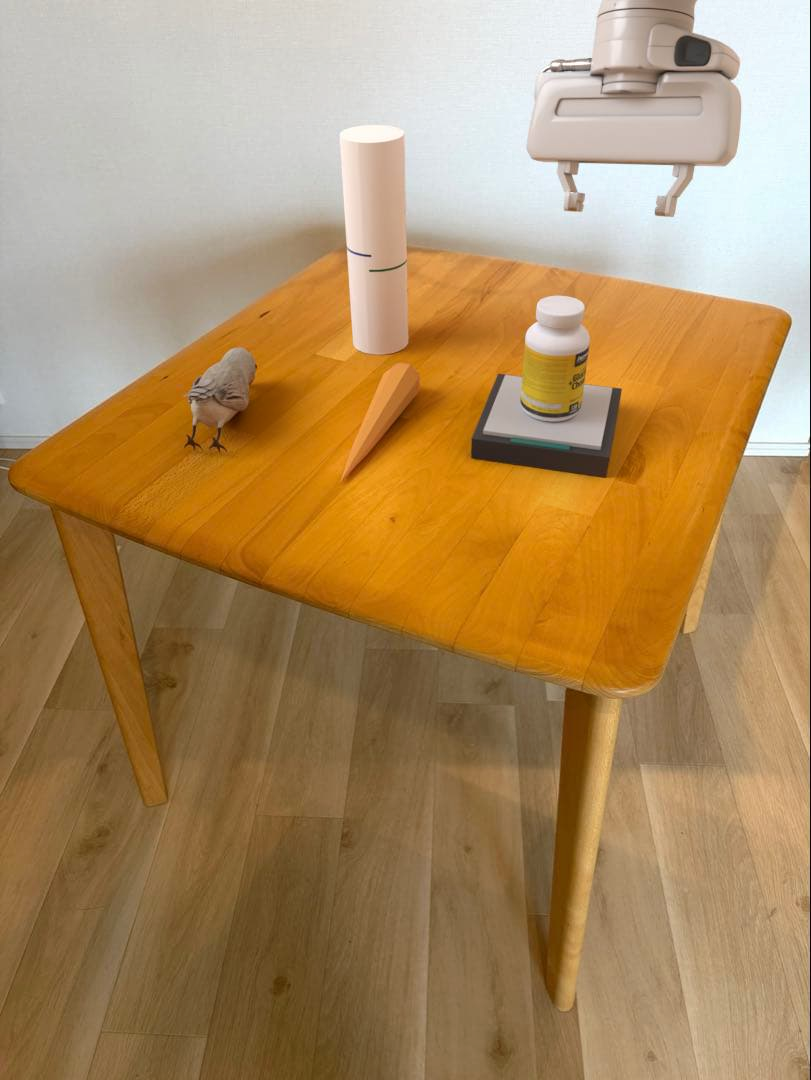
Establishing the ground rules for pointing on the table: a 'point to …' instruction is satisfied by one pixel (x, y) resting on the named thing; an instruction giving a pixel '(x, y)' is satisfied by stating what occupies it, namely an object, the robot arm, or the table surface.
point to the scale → (547, 431)
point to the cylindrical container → (376, 236)
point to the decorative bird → (221, 392)
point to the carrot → (384, 410)
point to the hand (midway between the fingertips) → (617, 213)
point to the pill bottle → (555, 360)
